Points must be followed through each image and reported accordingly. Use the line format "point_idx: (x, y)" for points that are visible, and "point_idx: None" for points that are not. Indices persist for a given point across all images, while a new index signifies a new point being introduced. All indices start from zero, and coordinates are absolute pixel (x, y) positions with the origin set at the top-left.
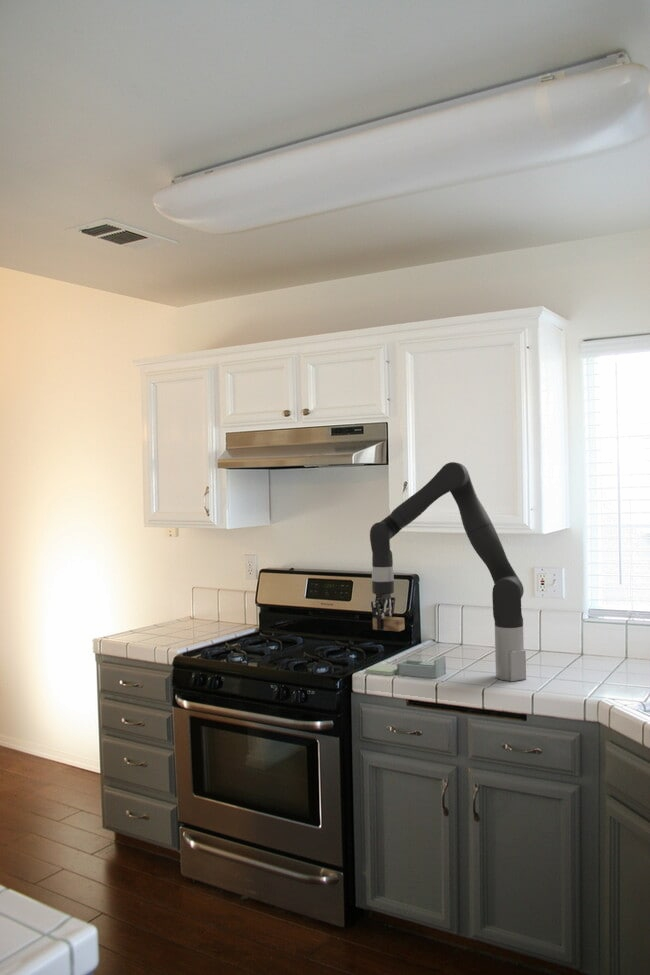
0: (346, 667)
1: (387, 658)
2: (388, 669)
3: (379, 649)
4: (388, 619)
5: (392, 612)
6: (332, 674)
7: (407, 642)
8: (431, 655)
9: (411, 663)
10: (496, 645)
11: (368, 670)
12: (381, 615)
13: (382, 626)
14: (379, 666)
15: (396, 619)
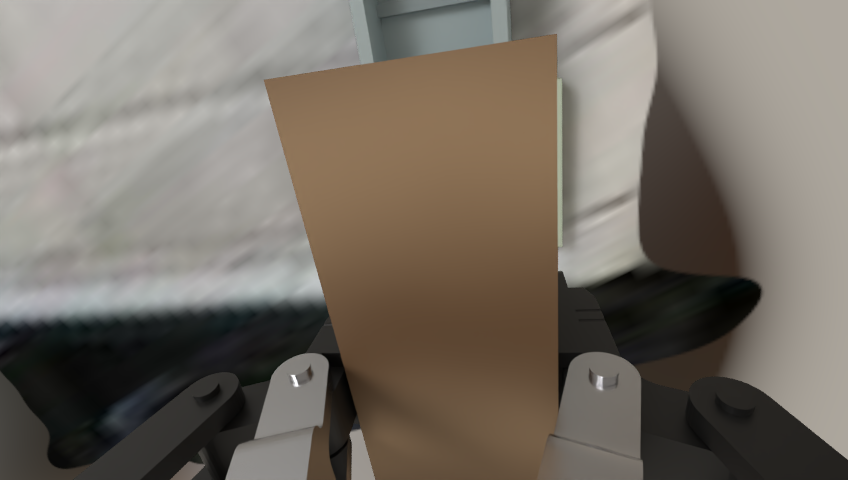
0: None
1: (247, 302)
2: None
3: (160, 395)
4: (555, 270)
5: (222, 397)
6: (649, 348)
7: (5, 366)
8: (58, 169)
9: (376, 43)
10: None
11: (561, 226)
12: (641, 418)
13: (570, 292)
14: None
15: (550, 97)
